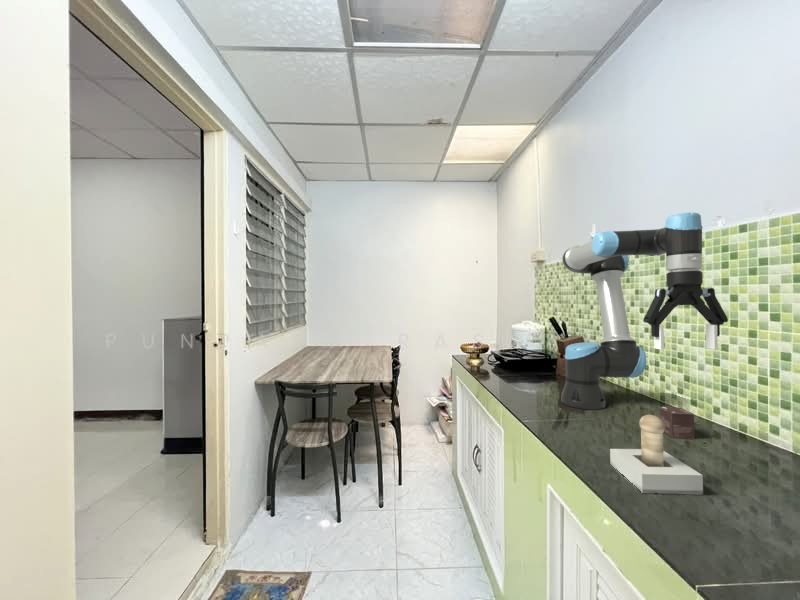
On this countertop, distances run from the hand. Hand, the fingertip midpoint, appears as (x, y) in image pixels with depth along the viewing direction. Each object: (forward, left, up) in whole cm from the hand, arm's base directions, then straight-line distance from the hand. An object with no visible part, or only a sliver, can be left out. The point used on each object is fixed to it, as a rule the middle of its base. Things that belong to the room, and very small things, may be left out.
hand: (685, 349), depth 91 cm
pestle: (+17, -20, -26) cm, 37 cm away
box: (-8, +3, -27) cm, 29 cm away
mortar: (+17, -20, -27) cm, 37 cm away
